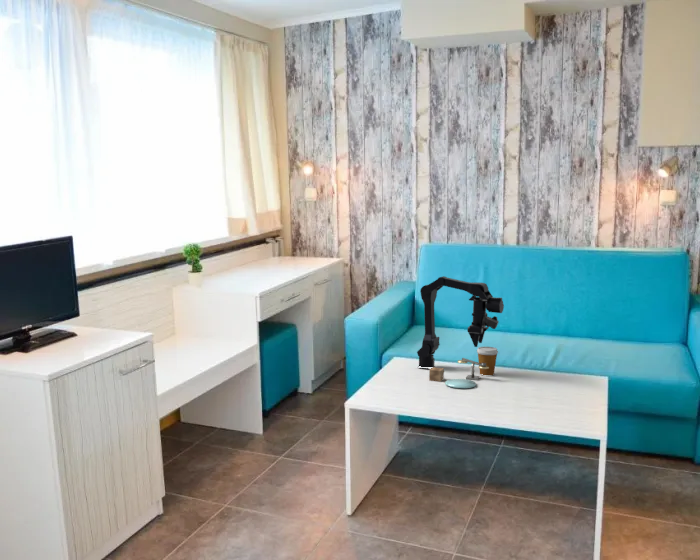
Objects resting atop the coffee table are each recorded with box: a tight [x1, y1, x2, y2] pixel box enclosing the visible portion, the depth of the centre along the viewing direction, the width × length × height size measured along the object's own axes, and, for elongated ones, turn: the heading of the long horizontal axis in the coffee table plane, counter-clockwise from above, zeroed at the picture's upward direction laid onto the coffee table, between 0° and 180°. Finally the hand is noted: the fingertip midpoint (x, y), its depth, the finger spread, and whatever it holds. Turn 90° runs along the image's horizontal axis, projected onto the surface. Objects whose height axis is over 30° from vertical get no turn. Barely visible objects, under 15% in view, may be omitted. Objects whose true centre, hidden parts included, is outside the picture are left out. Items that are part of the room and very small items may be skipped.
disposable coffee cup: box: [476, 346, 499, 376], centre depth 305 cm, size 10×10×12 cm
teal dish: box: [445, 378, 477, 389], centre depth 288 cm, size 13×13×1 cm
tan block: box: [428, 366, 445, 383], centre depth 296 cm, size 5×5×5 cm
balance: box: [457, 357, 489, 381], centre depth 298 cm, size 14×5×9 cm, turn 65°
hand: (478, 344), depth 303 cm, fingers open, 9 cm apart
